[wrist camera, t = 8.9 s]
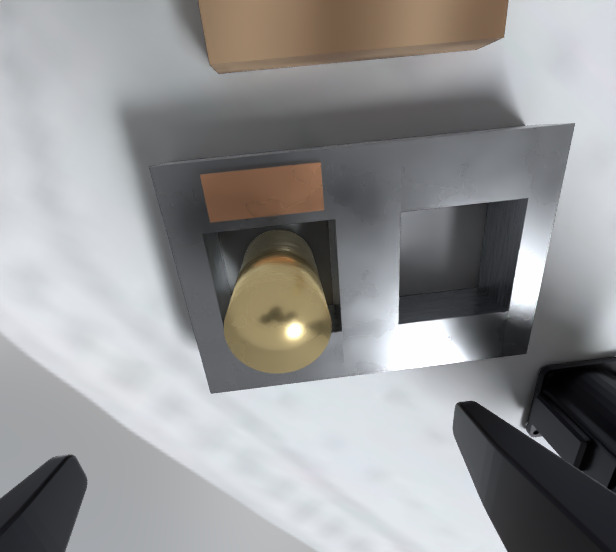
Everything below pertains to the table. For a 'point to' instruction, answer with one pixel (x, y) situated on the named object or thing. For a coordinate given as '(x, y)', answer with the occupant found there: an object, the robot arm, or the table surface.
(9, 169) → the table surface
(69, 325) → the table surface
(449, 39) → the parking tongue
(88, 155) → the table surface
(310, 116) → the table surface
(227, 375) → the plate
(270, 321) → the brass peg
